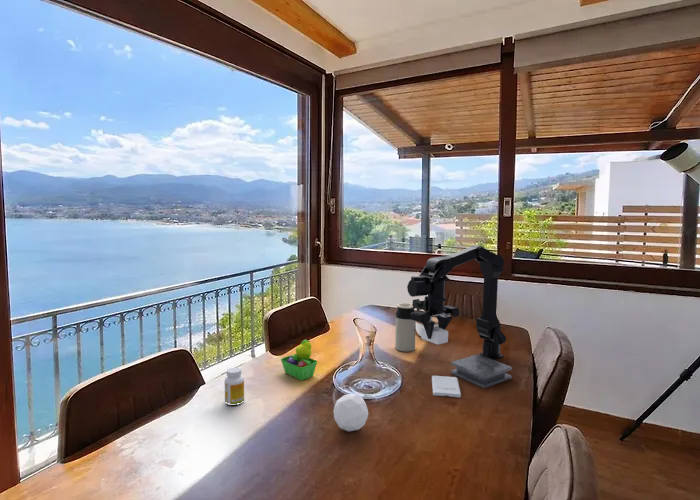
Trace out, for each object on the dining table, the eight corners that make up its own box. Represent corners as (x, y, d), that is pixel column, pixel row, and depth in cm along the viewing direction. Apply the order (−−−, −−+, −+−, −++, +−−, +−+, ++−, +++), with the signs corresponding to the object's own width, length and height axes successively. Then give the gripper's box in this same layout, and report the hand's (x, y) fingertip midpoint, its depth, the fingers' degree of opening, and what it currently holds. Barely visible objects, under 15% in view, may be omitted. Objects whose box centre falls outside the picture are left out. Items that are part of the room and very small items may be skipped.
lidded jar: (442, 335, 180) (443, 314, 179) (434, 341, 171) (434, 320, 170) (420, 331, 186) (420, 311, 185) (410, 337, 177) (411, 316, 176)
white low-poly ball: (369, 434, 97) (375, 415, 108) (359, 396, 97) (366, 382, 109) (335, 441, 98) (345, 422, 110) (325, 404, 99) (336, 389, 111)
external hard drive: (457, 382, 132) (460, 399, 120) (431, 380, 134) (432, 396, 122) (457, 377, 132) (461, 393, 120) (431, 375, 134) (433, 391, 122)
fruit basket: (279, 373, 137) (279, 341, 136) (299, 366, 143) (299, 335, 142) (301, 383, 129) (301, 349, 128) (321, 375, 136) (321, 342, 135)
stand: (477, 364, 146) (477, 354, 145) (511, 378, 134) (511, 366, 134) (450, 373, 138) (450, 361, 138) (484, 388, 126) (484, 376, 126)
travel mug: (392, 350, 160) (393, 306, 158) (398, 344, 167) (399, 302, 165) (412, 353, 157) (413, 308, 155) (416, 346, 164) (418, 303, 163)
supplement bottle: (248, 399, 118) (247, 367, 117) (237, 408, 113) (236, 374, 112) (232, 396, 119) (231, 365, 118) (221, 405, 114) (220, 372, 113)
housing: (431, 336, 147) (431, 322, 147) (447, 342, 140) (448, 328, 140) (421, 338, 144) (421, 324, 144) (437, 344, 138) (438, 330, 137)
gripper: (438, 287, 152) (436, 327, 154) (400, 293, 142) (399, 335, 144) (460, 292, 143) (459, 335, 145) (422, 298, 133) (421, 344, 135)
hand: (434, 337), depth 142 cm, fingers closed on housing, 5 cm apart
